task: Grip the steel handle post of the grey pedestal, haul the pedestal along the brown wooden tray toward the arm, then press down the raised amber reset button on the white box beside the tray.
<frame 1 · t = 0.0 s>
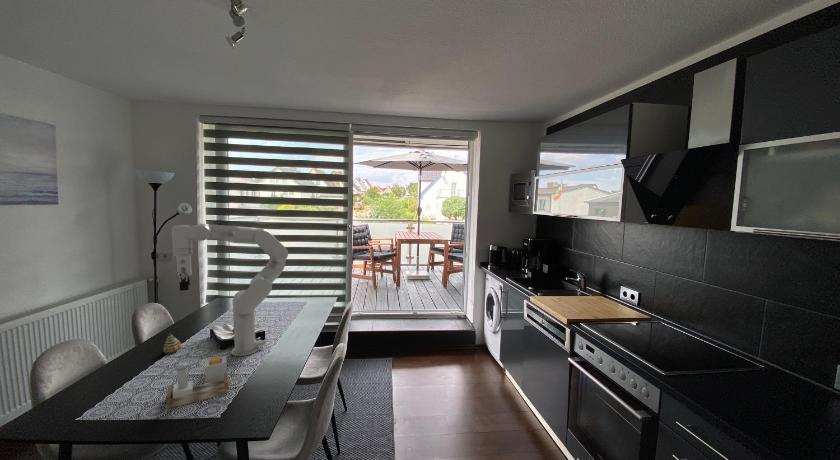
hand: (185, 287, 154), 37 cm above the table, tool pointing down, fingers open, 9 cm apart
reset button: (215, 361, 142), point 8 cm above the table, slide at 0.0 cm
brown wooden tray: (199, 394, 131), on the table
white box: (216, 379, 143), on the table
grey pedestal: (182, 378, 128), point 9 cm above the table, slide at 0.0 cm
ornament: (172, 351, 169), on the table
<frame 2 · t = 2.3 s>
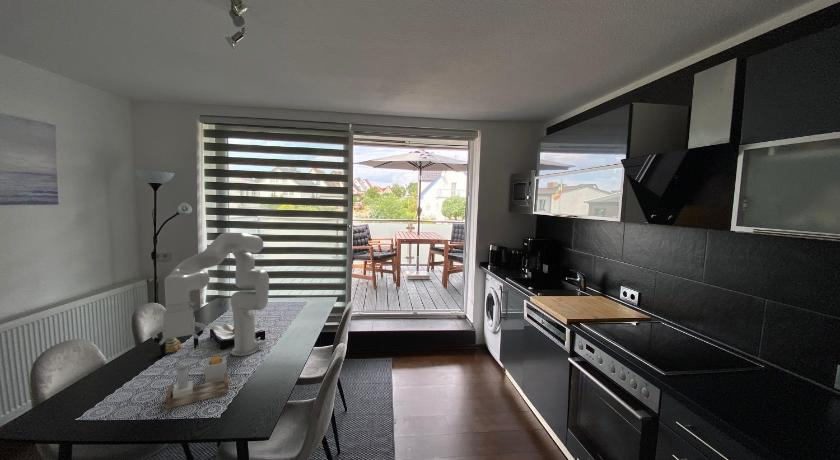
hand: (180, 350, 126), 20 cm above the table, tool pointing down, fingers open, 9 cm apart
nothing on the table moved.
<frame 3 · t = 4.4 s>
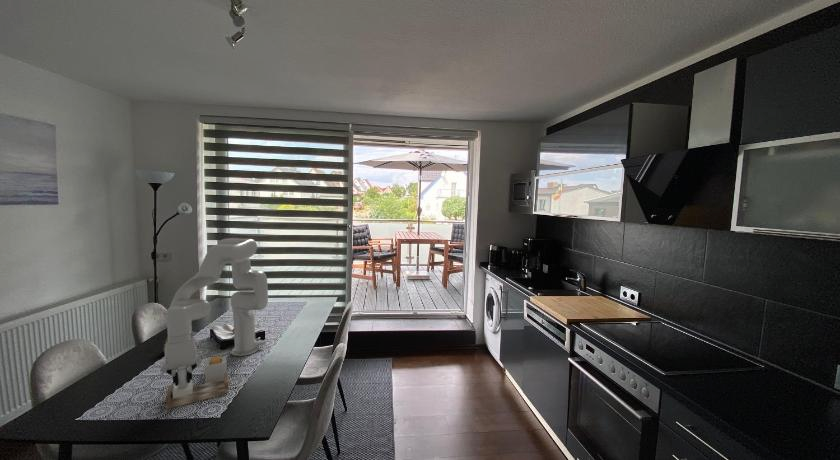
hand: (182, 382, 128), 7 cm above the table, tool pointing down, fingers closed on grey pedestal, 3 cm apart
grey pedestal: (182, 378, 128), point 9 cm above the table, slide at 0.0 cm, touching gripper
everything else where it was.
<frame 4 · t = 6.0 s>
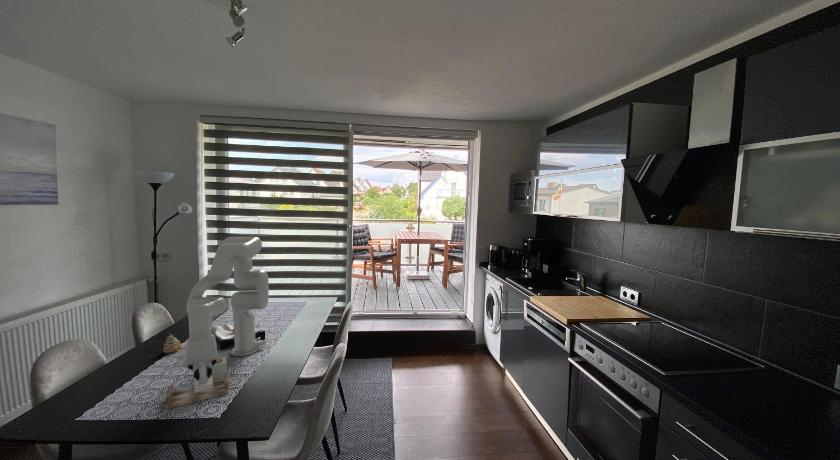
hand: (203, 377, 131), 7 cm above the table, tool pointing down, fingers closed on grey pedestal, 3 cm apart
grey pedestal: (203, 373, 131), point 9 cm above the table, slide at 6.7 cm, touching gripper
everything else where it was.
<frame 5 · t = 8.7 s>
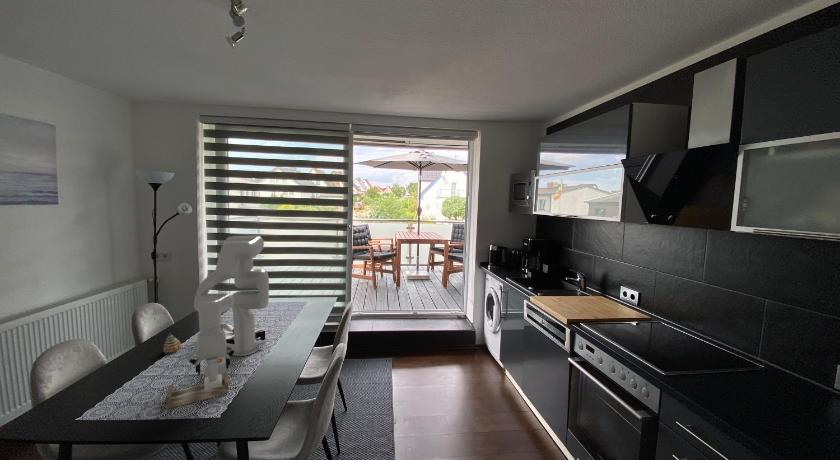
hand: (213, 370, 133), 9 cm above the table, tool pointing down, fingers open, 9 cm apart
grey pedestal: (212, 371, 133), point 9 cm above the table, slide at 10.0 cm
everything else where it was.
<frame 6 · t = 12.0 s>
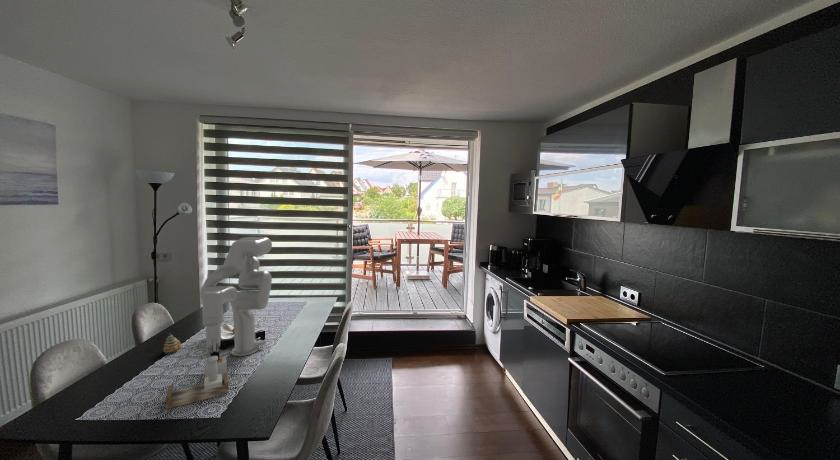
hand: (215, 360, 141), 9 cm above the table, tool pointing down, fingers closed
reset button: (215, 363, 142), point 7 cm above the table, slide at 1.0 cm, touching gripper
everything else where it was.
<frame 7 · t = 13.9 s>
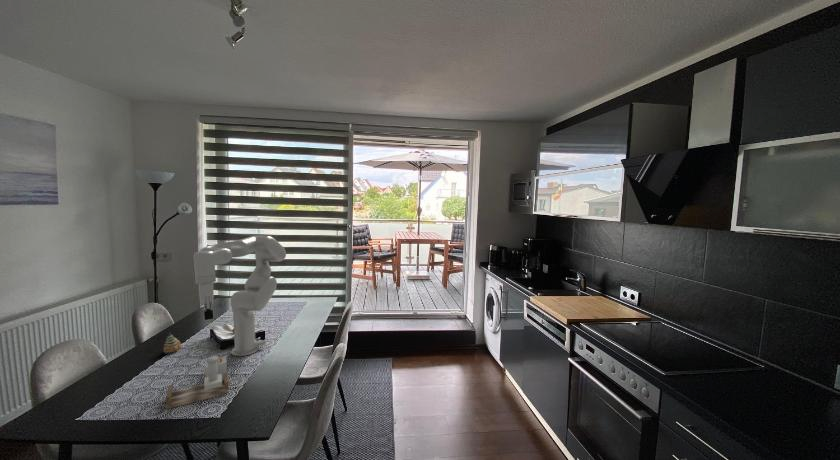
hand: (209, 318, 146), 25 cm above the table, tool pointing down, fingers closed
reset button: (215, 364, 142), point 7 cm above the table, slide at 1.5 cm
everything else where it was.
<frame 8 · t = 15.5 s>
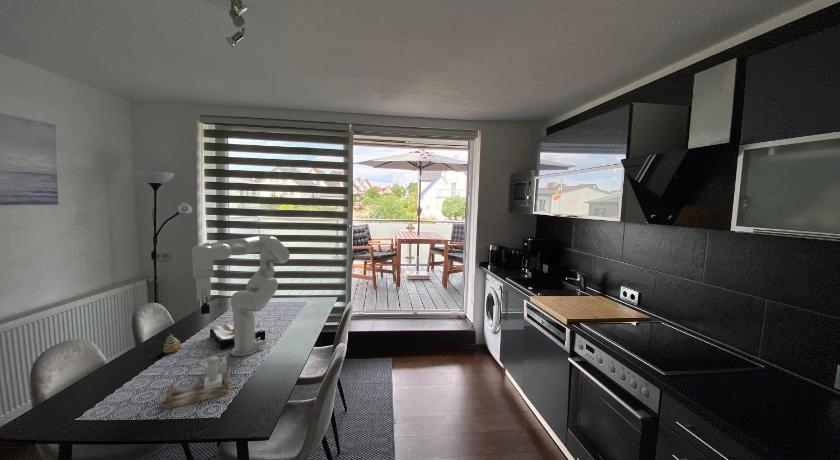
hand: (205, 313, 147), 27 cm above the table, tool pointing down, fingers closed
nothing on the table moved.
at the end: grey pedestal slide at 10.0 cm; reset button slide at 1.5 cm; the gripper is holding nothing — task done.
